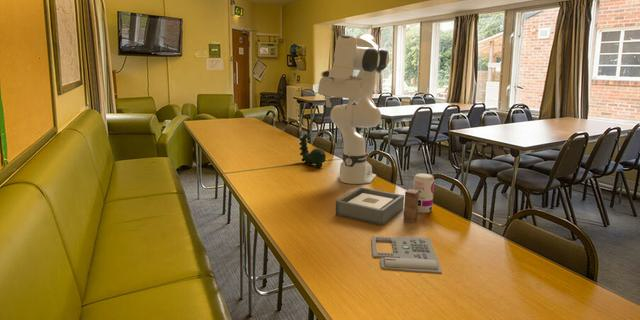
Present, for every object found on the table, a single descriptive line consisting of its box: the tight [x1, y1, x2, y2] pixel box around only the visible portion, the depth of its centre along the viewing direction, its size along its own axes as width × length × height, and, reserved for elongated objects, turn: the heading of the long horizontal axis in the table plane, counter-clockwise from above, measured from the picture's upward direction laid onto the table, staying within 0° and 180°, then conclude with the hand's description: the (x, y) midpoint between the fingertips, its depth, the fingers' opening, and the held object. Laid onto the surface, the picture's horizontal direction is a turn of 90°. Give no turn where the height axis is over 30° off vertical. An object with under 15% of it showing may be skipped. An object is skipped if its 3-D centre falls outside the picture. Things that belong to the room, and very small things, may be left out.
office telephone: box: [371, 235, 443, 274], centre depth 130 cm, size 23×3×20 cm
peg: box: [403, 188, 419, 224], centre depth 156 cm, size 4×4×12 cm
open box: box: [335, 186, 405, 227], centre depth 166 cm, size 22×20×6 cm
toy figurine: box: [298, 133, 327, 169], centre depth 239 cm, size 9×19×25 cm
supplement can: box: [412, 172, 435, 214], centre depth 167 cm, size 8×8×15 cm
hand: (337, 108), depth 170 cm, fingers open, 8 cm apart
